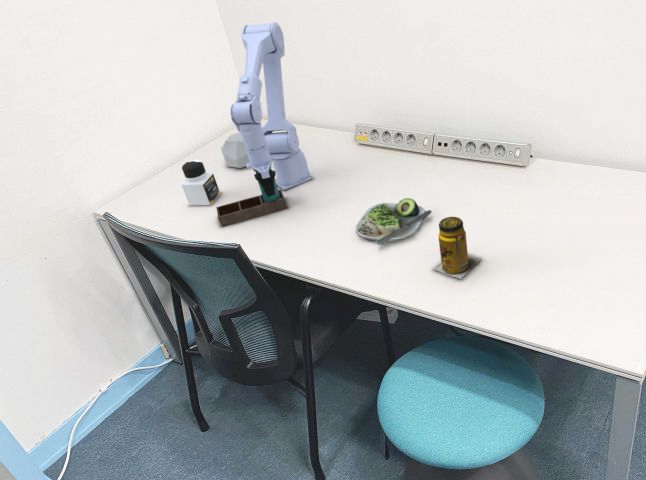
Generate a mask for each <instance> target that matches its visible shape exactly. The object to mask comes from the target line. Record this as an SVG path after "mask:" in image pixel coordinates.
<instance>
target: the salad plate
mask: <svg viewBox="0 0 646 480" xmlns="http://www.w3.org/2000/svg"><path fill="white" fill-rule="evenodd" d="M398 202H399V203H397V202H395V203H394V202H381V203H376V204H374V205H371V206H370V207H369V208H368V209H367V210H366V211H365V212H364V214H362V217H361V218H360V220H359V221H358V222H357V224H356V226H355V232H356V234H357V235H358V236H359V237H361V238H363V239H365V240H368V241H370V242H376V245H379V246H381V245H384V244H386V243H391V242H394V241H398V240H399V241H400V240H403V239H405V238H408V237H411V236H413V235H414V234H415V232H416V231H417V230H418V229H419V227H420V225H421V224H422V222H423V221H424V220H425V219H426V218H428V216H430V215H431V214H432V210H429V209H428V210H425V209H424V208H423V207H422V206H420V205H418V204H417V202H416V200H414V199H413V198H410V197H405V198H402V199H400V200H399V201H398Z"/></svg>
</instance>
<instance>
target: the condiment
mask: <svg viewBox="0 0 646 480" xmlns="http://www.w3.org/2000/svg"><path fill="white" fill-rule="evenodd" d="M464 227H465V226H464V221H463V220H462V218H460V217H457V216H447V217H444V218H442V219H441V220H440V221H439V223H438V234H437V235H438V245H439V252H440V262H441V264H440V265H438V266H437V267H436V268H434V270H433V271H437V272H438V273H442V274H445V275H447V276H450V277H453V278H456V279H459V280H462V278H464V277H465V276H466V275H467V274H469V272H470V271H471V270H472V269H473V268H474V267H475V266H477V265H478V263H479V262H480V261H482V258H478V257H475V256H472V255H469V254H468V243H467V242H468V241H467V232H466V230H465V228H464Z"/></svg>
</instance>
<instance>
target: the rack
mask: <svg viewBox="0 0 646 480" xmlns="http://www.w3.org/2000/svg"><path fill="white" fill-rule="evenodd" d="M282 190H283V189H278V191H279V195H280V198H279V199H278V200H276V201H273V202H265V201H264V199H263V196H262V194H259V195H256V196H252V197H247V198H245V199H240V200H237V201H233V202H229V203H226V204H223V205H219V206H216V207H215V208H216V213H217V218H218V222H219V224H220V227H222V228H223V227H226V226H229V225H230V226H231V225H233V224H236V223H240V222H245V221H248V220H251V219H254V218H258V217H262V216H265V215H269V214H273V213H276V212H280V211H284V210H286V209H288V205H287V202H286V198H285V195H284V192H283V191H282Z"/></svg>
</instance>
